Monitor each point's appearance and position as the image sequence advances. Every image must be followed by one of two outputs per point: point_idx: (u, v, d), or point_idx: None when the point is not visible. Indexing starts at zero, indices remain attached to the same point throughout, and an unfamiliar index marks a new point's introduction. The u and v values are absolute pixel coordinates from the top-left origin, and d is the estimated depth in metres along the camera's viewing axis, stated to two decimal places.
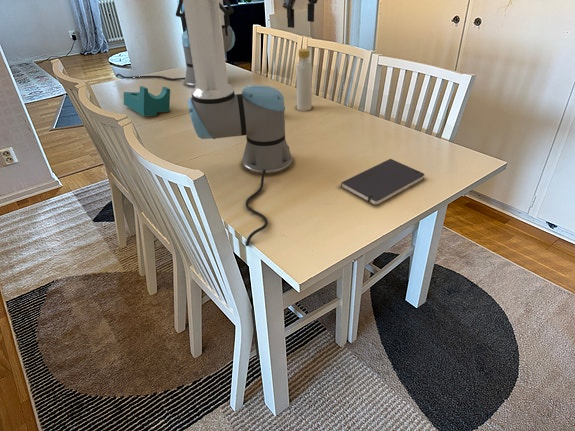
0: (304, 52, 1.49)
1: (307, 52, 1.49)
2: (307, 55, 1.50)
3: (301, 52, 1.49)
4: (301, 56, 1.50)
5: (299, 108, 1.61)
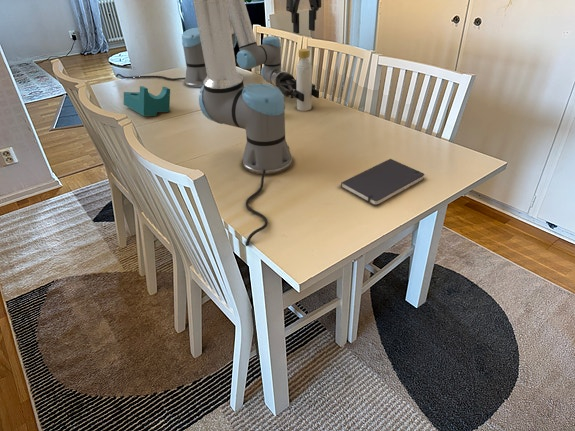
0: (304, 52, 1.49)
1: (307, 52, 1.49)
2: (307, 55, 1.50)
3: (301, 52, 1.49)
4: (301, 56, 1.50)
5: (299, 108, 1.61)
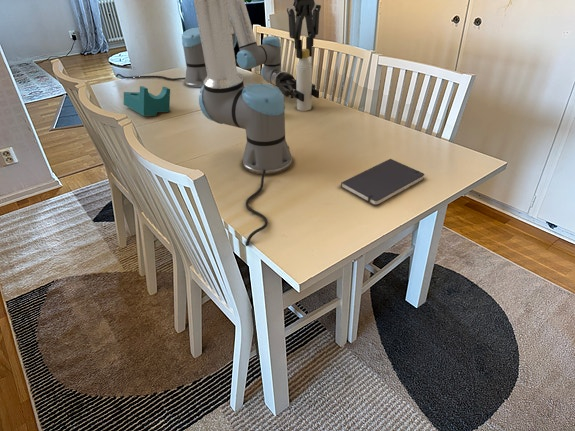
0: (304, 52, 1.49)
1: (307, 52, 1.49)
2: (307, 55, 1.50)
3: None
4: None
5: (299, 108, 1.61)
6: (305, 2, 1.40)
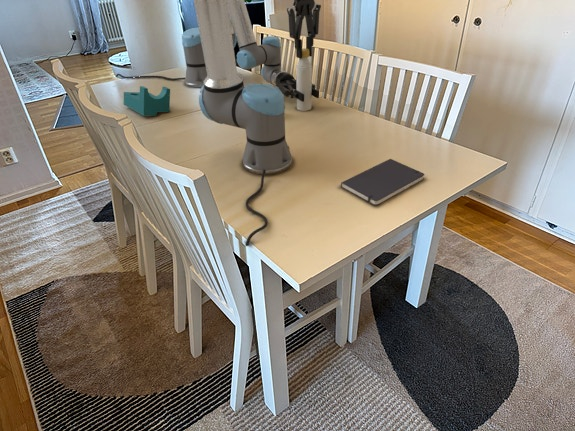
0: None
1: None
2: None
3: (309, 51, 1.50)
4: (308, 55, 1.51)
5: (299, 108, 1.61)
6: (305, 2, 1.40)
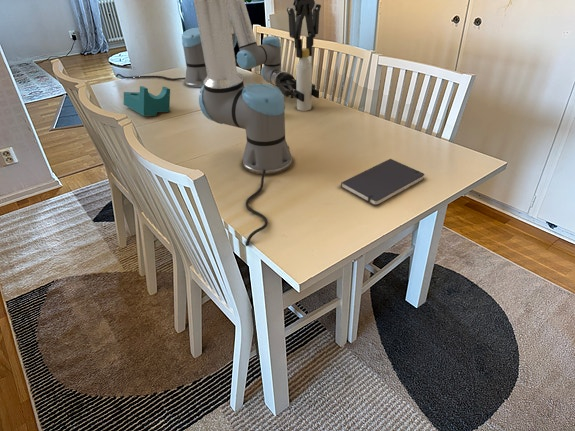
0: None
1: None
2: None
3: None
4: None
5: (299, 108, 1.61)
6: (305, 1, 1.40)
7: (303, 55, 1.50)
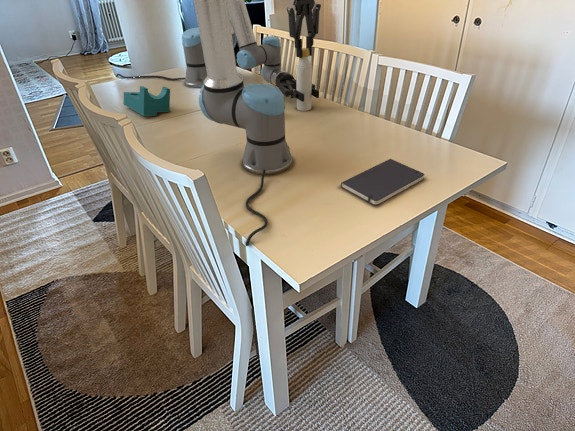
0: None
1: (302, 52, 1.49)
2: (302, 55, 1.50)
3: None
4: None
5: (299, 108, 1.61)
6: (305, 1, 1.40)
7: (309, 53, 1.51)
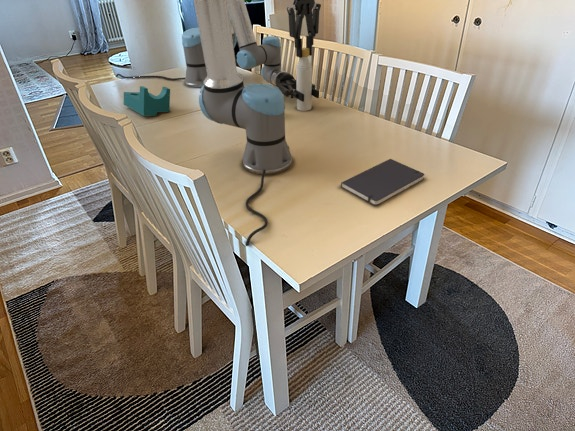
0: (308, 50, 1.49)
1: (309, 50, 1.50)
2: (309, 53, 1.51)
3: (305, 51, 1.49)
4: (305, 55, 1.50)
5: (299, 108, 1.61)
6: (305, 1, 1.40)
7: None
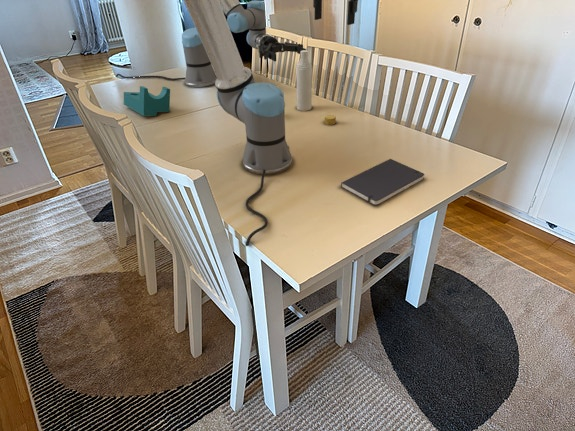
0: None
1: None
2: None
3: None
4: None
5: (299, 108, 1.61)
6: None
7: (325, 122, 1.50)
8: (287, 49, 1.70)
